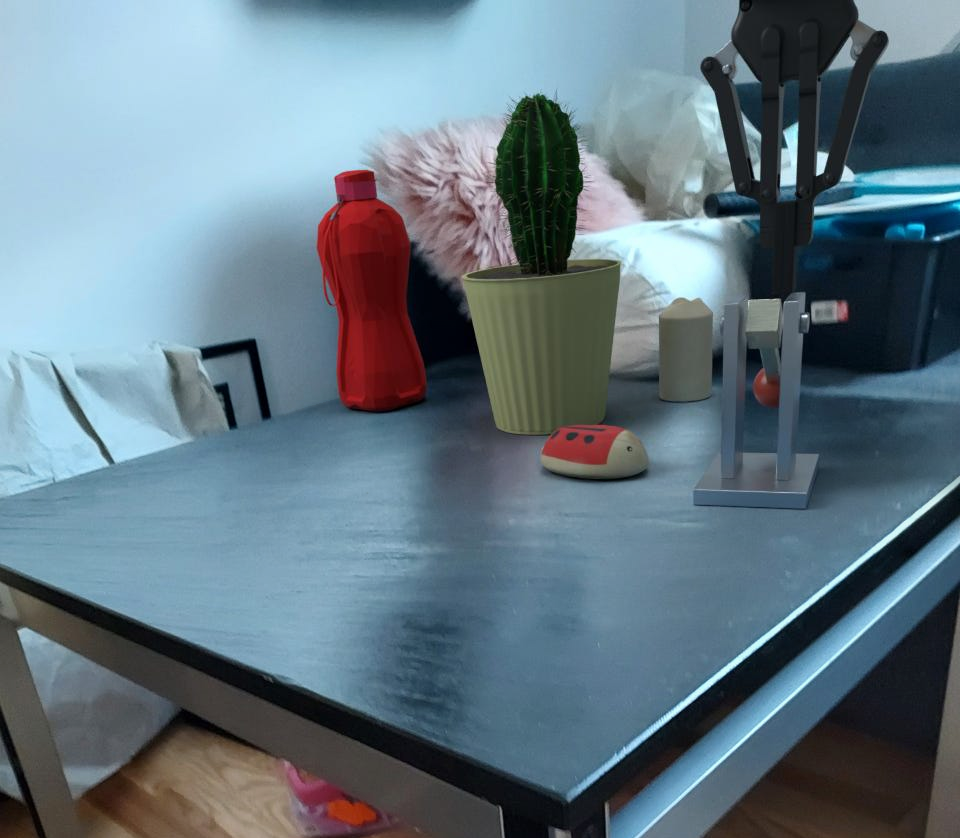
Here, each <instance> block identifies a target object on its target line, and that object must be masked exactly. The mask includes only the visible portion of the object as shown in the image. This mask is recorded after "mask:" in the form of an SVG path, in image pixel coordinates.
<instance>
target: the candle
mask: <svg viewBox="0 0 960 838" xmlns="http://www.w3.org/2000/svg"><path fill="white" fill-rule="evenodd" d="M713 329H714V312H713V310H712V309H711V308H710V307H709V306H708V305H707V304H706V303H705V302H704V301H703V300H702V298H701V297H697V298H694V299H692V300H690V299H687V298H686V297H677V298H674V300H673V301H671V303H669V305H667V306H666V307H665V308H664V309H663V310H662V311H661V312H660V313H659V315H658V382H659V383H658V386H659V387H658V389H659V398H660V399H661V400H663V401H667V402H677V403H679V402H694V401H695V402H696V401H701V400H705V399H707V398H710V397H711V396H712V392H713V391H712V389H713V387H712V386H713V341H714V339H713V337H714V336H713V335H714V334H713V333H714V330H713Z"/></svg>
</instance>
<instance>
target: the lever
mask: <svg viewBox="0 0 960 838" xmlns="http://www.w3.org/2000/svg"><path fill="white" fill-rule="evenodd" d="M783 312H784V310H783V304H782V299H781V298H765V299H761V298H760V299H748V309H747V317H746V326H745V334H746V339H747V348H748V349H749V350H757V349H758V350H759V352H760V357H761V362H762V366H763V368H761V369H760V370H759V372H758V373H756V376H755V378H754V381H753V385H752V389H753V394H754V397H755V400H757V402H758V403H759V404H760V405H761V406H763V407H765V408H768V409H775V410H776V409H779V395H780V374H781V356H780V351H779V349H780V348H781V344H782V333H783Z"/></svg>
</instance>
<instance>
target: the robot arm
mask: <svg viewBox="0 0 960 838" xmlns="http://www.w3.org/2000/svg"><path fill="white" fill-rule="evenodd" d="M737 11H738V12H737V16H736V18H735V21H734V23H733V25H732V27H731V31H730V39H729V40H728V41H727V42H726V43H725V44H723V46H722V47H721V48H720V49H719V50H717V51H716V52H715V53H714V54H713V55H712V56H710V55H709V56H706V57H704V58H703V59H702V60H701V62H700V67H699V68H700V72H701V74H702V75H703V77H704V78H705V81H706V82H707V83H708V85H709V86H710V88H711V90H712V91H713V93H714V97H715V103H716V107H717V111H718V117H719V120H720V127H721V129H722V135H723V139H724V144H725V149H726V154H727V157H728V162H729V168H730V172H731V176H732V181H733V186H734V189H735V193H736V194H737V196H740V197H744V198H748V199H751V200H754V201H756V202H757V203H758V205H759V235H758V236H759V239H758V243H759V245H760V249H762V250H765V249H766V250H767V249H773V254H772V255H773V257H772V286H771V288H772V291H771V292H772V293H771V295H772V296H786V295H790V294H791V293H795V292H796V290H797V275H798V274H797V273H798V272H797V271H798V249H799V248H798V247H803V246H804V247H806V246H809V245H810V244H811V242H812V240H813V237H814V225H815V223H814V221H815V203H816V199H817V197H818V196H819V195H820V194H821V193H823V192H825V191H828V190H830V189H832V188H834V187H836V186H838V184H839V183H840V182H841V180H842V178H843V174H844V170H845V166H846V163H847V160H848V156H849V152H850V149H851V146H852V142H853V138H854V135H855V132H856V128H857V124H858V121H859V117H860V115H861V110H862V108H863V103H864V100H865V96H866V93H867V90H868V86H869V82H870V79H871V75H872V72H873V71H874V69H875V67H876V66H877V64H878V63H879V61H880V60H881V58H882V57H883V55H884V53H885V52H886V50H887V49H888V47H889V44H890V39H889V36H888V34H887V32H885V30H876V29H874V28H873V27H871V26H869V25H868V24H867V23H865V22H863V21H861V20H859V18H860V17H859V16H860V15H859V8H858V7H857V5H856V3H855V0H738V10H737ZM849 38H851V40H852V43H851V47H850V51H849V52H850V53H849V55H850V58H851V59H852V61H854V64H853V67H852V68H851V72H850V75H849V79H848V82H847V85H846V90H845V93H844V96H843V100H842V104H841V107H840V111H839V115H838V118H837V122H836V125H835V129H834V133H833V137H832V140H831V144H830V147H829V151H828V155H827V159H826V161H825V166H824V169H823V172H822V173H820V174H818V175H817V170H818V169H817V168H818V149H819V148H818V147H819V127H820V101H821V91H822V76H824V75H825V74H826V72H828V71H829V69H830V67H831V66H832V65H833V63H834V61H835V60H836V58H837V57H838V55H839V54H840V52H841V51H842V49H843V47H844V46H845V44H846V43H847V41H848V40H849ZM738 56H740V58H741V59H742V60H743V61H744V63H745V64H746V66H747V67H748V69H749V70H750V72H751V74H752V75H753V76H754V78H755V79H756V80H757V81H758V82H759V83H761V90H760V99H761V124H760V125H761V127H760V159H759V160H760V164H759V166H760V167H759V179H756V176H755V172H754V167H753V166H754V165H753V162H752V157H751V153H750V149H749V147H750V146H749V142H748V137H747V134H746V129H745V124H744V117H743V114H742V110H741V105H740V100H739V95H738V91H737V87H736V85H735V82H734V78H735V77H736V76H737V74H738V70H739V69H738V68H739V67H738V64H737V60H738V59H737V58H738ZM793 81H794V82H798V120H797V121H798V122H797V143H796V145H797V148H796V171H795V174H796V175H795V176H796V177H795V192H794V196H795V199H791V200H781V201H780V197H781V195H782V191H781V179H782V178H781V174H782V149H783V122H784V121H783V119H784V98H785V87H786V86H785V85H786V84H789V83H791V82H793Z"/></svg>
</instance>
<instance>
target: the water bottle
mask: <svg viewBox="0 0 960 838" xmlns="http://www.w3.org/2000/svg"><path fill="white" fill-rule="evenodd" d="M375 177H376V176H375V171H373V170H370V169H355V170H345V171H341V172H340V173H338V174H337V175H335V176H334V177H333V178H334V179H333V180H334V188H335V193H336V195H335V196H336V201H337V203H336V204H334V205H333V206H332V207H331V208H330V209H328V211H327V212H326V213H324V215H323V217H322V218H321V220H320V221H319V223H318V225H317V239H316V251H317V254H318V258H319V262H320V266H321V268H322V286H323V292H324V297H325V300H326V302H327V304H328V305H329V306H332V307H336V313H337V318H338V332H337V333H338V334H337V352H336V353H337V354H336V371H335V372H336V382H337V392H338V396H339V399H340V401H341V404H342V405H343V406H345V407H346V408H348V409H353V410H362V411H363V410H364V411H368V412H369V411H370V412H375V413H376V412H387V411H388V412H389V411H392V410H395V409H399V408H401V407H404V406H408V405H411V404H415V403H418V402H420V401H422V399H424V398H425V396H426V393H427V387H428V382H427V376H426V370H425V369H426V368H425V363H424V360H423V357H422V353H421V351H420V348H419V344H418V341H417V339H416V335H415V333H414V329H413V326H412V323H411V320H410V317H409V314H408V303H407V302H408V301H407V292H408V283H409V282H408V280H409V270H410V261H411V260H410V259H411V248H412V247H411V246H412V245H411V241H410V238H409V234H408V231H407V228H406V225H405V221H404V218H403V216H402V215H401V214H400V213H399V212H398V211H397V210H396V209H395V208H394V207H393V206H392V205H389V204H388V203H386V202H384V201H383V200H381V199H379V198H378V191H377V183H376V182H377V181H378V180H377V179H376V178H375ZM327 284H328V286H329V290H330V292H331V294H332V298H333V300H334V304H333V303H331V302H330V301H331V300H330V298H329V296H328V291H327Z"/></svg>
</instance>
